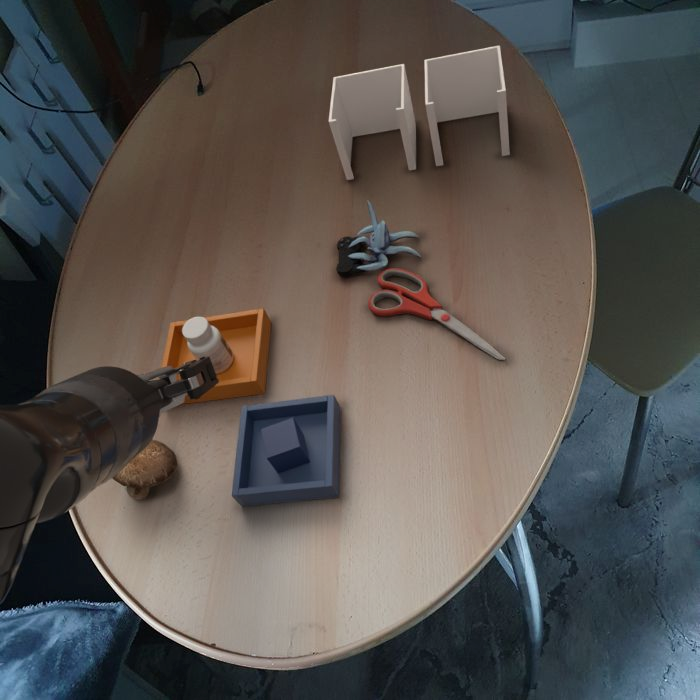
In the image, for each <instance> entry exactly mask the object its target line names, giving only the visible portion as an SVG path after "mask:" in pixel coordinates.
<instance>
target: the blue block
mask: <svg viewBox="0 0 700 700" xmlns="http://www.w3.org/2000/svg"><path fill="white" fill-rule="evenodd" d="M261 433H262V438H263V443H264V448H265V453H266V458H267V460H268V461H269V462H270V464H271V465H272V466H273V468H274V469H275V470H276V471H277V473H281V472H284V471H287V470H289V469H292V468H295V467H298V466H301V465H303V464H306V463H309V462H310V459H309V455H308V451H307V447H306V443H305V439H304V435H303V433H302V431H301V429H300V428H299V426H298V425H297V423H296V421H295V420H294V418H290V419H288V420H285V421H282V422H279V423H276V424H274V425H271V426H268V427H265V428H262V429H261Z"/></svg>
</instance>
